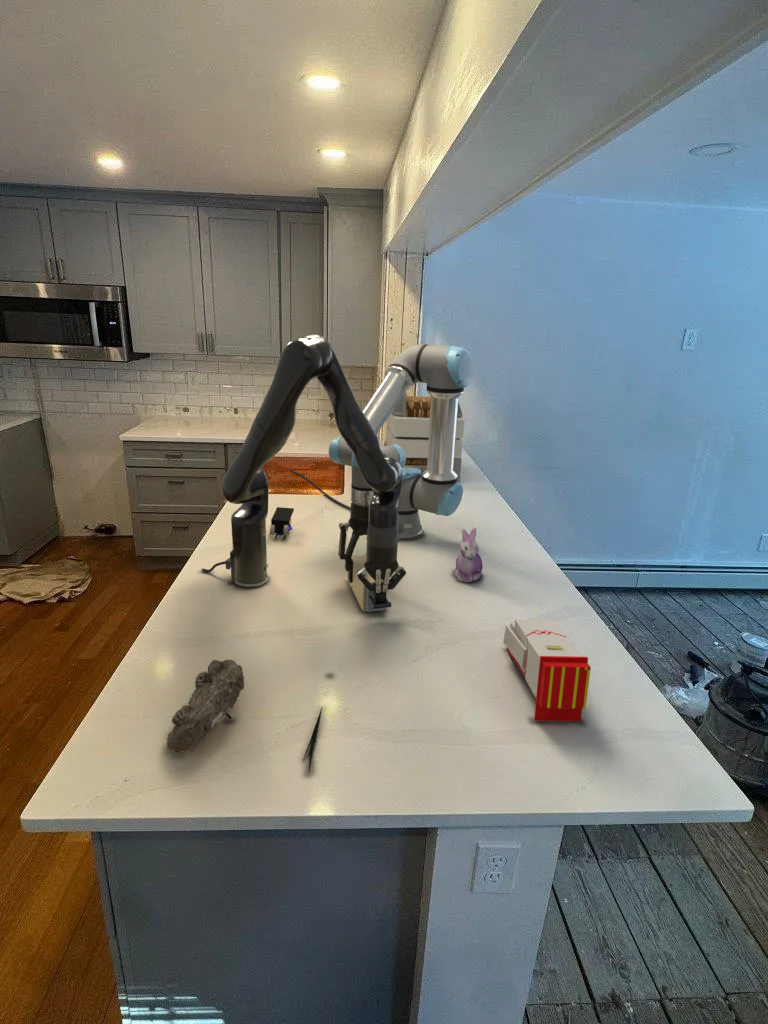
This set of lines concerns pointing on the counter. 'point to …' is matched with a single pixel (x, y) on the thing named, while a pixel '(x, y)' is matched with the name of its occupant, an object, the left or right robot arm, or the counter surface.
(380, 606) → the drawer
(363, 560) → the cabinet
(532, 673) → the toy
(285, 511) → the figurine character
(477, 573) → the figurine
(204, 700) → the fossil
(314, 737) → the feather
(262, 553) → the left robot arm
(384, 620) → the counter surface
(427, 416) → the grey slatted crate
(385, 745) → the counter surface
